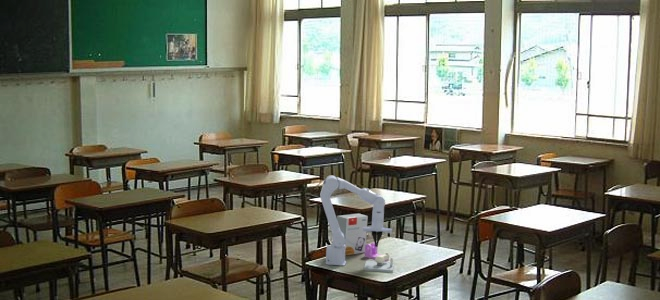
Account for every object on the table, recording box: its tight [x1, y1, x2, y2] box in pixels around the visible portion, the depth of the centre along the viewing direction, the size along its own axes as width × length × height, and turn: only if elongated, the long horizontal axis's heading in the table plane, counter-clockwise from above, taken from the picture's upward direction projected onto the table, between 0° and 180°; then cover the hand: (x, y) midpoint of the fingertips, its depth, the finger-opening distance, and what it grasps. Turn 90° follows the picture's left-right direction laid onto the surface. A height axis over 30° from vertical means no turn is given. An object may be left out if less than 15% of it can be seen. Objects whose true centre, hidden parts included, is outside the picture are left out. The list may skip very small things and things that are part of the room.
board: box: [363, 257, 395, 274], centre depth 399 cm, size 14×14×6 cm
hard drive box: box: [336, 213, 369, 256], centre depth 425 cm, size 16×8×20 cm, turn 129°
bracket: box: [364, 242, 390, 262], centre depth 417 cm, size 13×6×7 cm, turn 47°
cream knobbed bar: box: [375, 253, 390, 263], centre depth 402 cm, size 10×4×3 cm, turn 147°
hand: (376, 246), depth 404 cm, fingers closed
